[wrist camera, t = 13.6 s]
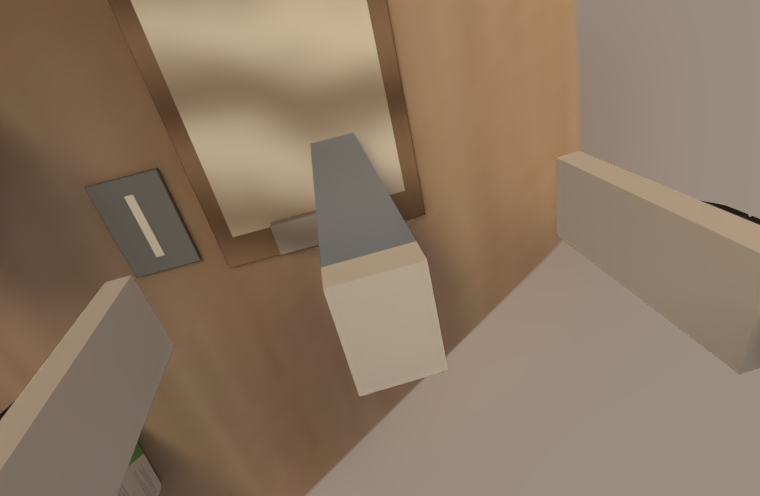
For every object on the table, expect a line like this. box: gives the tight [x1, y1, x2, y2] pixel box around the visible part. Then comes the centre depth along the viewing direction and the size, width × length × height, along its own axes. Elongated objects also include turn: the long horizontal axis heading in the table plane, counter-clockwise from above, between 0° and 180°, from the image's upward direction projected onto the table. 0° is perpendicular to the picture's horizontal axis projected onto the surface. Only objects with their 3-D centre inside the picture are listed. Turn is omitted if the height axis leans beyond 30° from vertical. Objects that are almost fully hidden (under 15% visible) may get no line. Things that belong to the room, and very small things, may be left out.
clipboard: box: [108, 0, 425, 268], centre depth 23 cm, size 17×13×1 cm
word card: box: [85, 168, 201, 278], centre depth 25 cm, size 6×4×1 cm, turn 13°
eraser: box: [310, 133, 448, 397], centre depth 17 cm, size 3×2×16 cm
